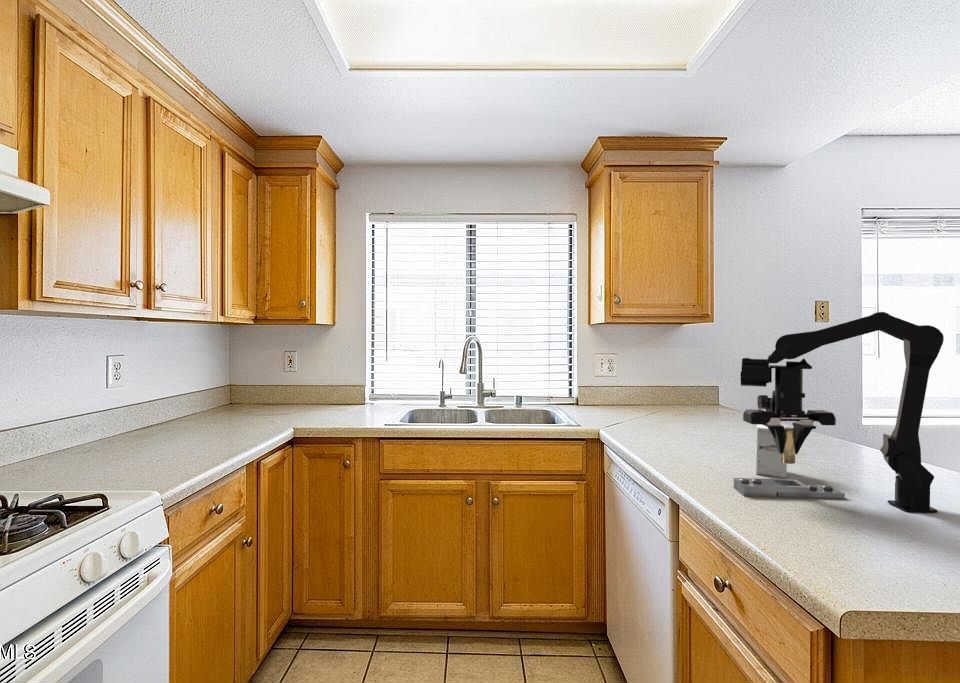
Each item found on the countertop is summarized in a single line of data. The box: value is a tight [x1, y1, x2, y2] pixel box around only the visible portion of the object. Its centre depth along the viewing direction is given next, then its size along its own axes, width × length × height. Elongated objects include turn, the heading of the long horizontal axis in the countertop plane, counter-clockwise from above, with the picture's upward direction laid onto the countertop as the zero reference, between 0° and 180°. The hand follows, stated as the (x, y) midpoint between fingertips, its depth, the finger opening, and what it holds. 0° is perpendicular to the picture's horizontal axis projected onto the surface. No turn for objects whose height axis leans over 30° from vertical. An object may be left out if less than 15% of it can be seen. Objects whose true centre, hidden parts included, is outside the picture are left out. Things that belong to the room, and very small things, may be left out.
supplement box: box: [755, 424, 788, 478], centre depth 152 cm, size 7×7×13 cm
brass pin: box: [781, 426, 796, 465], centre depth 133 cm, size 3×3×8 cm
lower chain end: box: [776, 484, 846, 500], centre depth 133 cm, size 7×14×2 cm, turn 85°
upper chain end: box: [733, 477, 810, 498], centre depth 134 cm, size 7×14×3 cm, turn 85°
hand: (788, 453), depth 133 cm, fingers closed on brass pin, 3 cm apart
